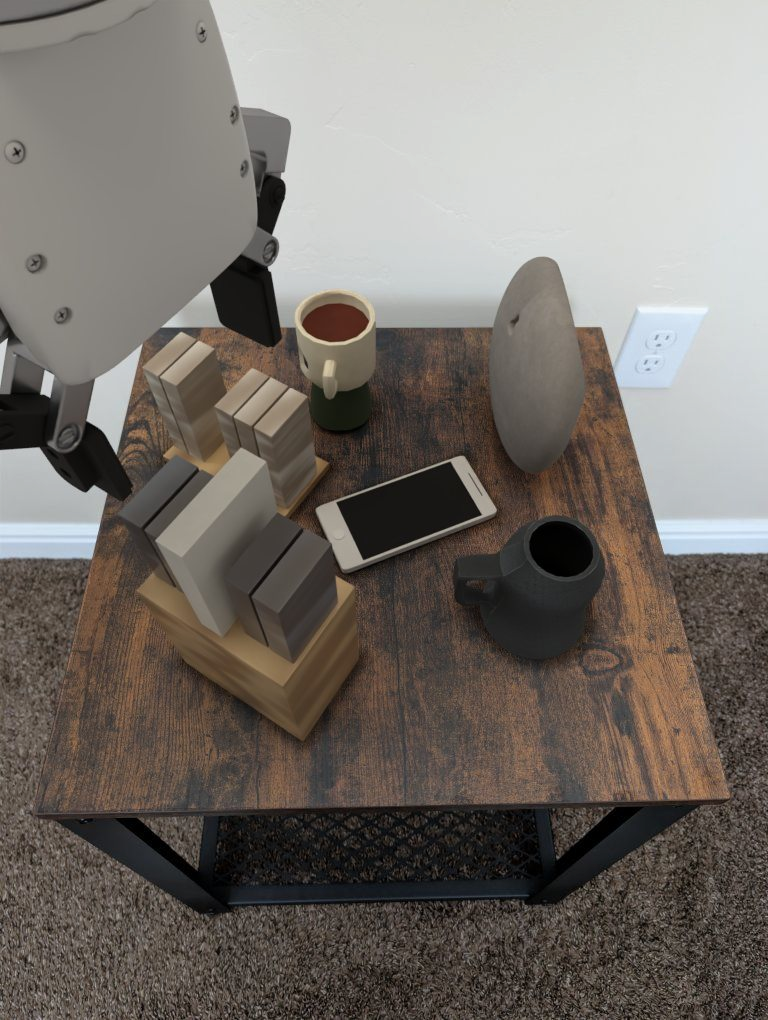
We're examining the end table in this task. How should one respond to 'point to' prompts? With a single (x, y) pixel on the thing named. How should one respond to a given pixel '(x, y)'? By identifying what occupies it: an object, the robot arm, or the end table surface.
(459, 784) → the end table surface
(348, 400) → the character mug
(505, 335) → the grey oval stone
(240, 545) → the grey flat block
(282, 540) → the wooden stand
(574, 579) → the mug
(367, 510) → the smartphone
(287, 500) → the grey-brown wooden block stand
